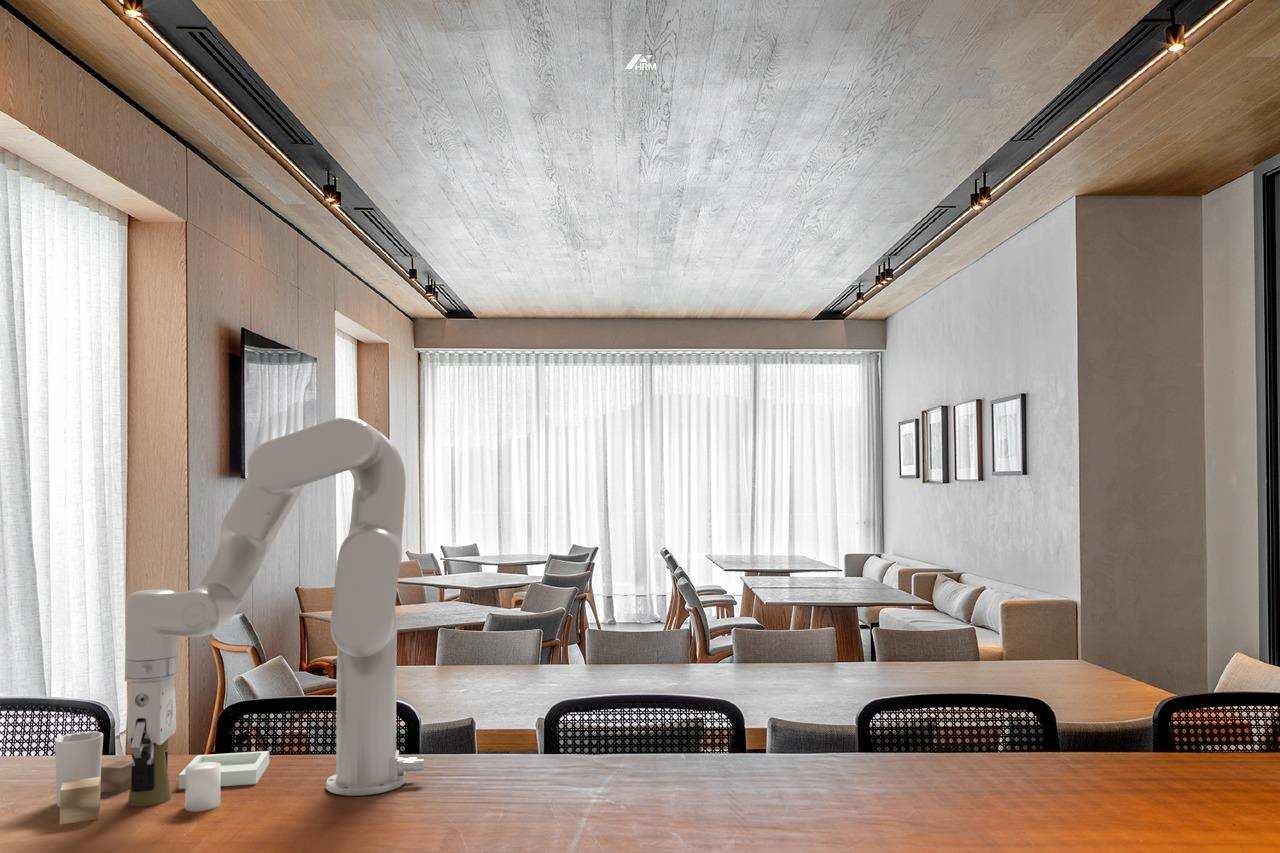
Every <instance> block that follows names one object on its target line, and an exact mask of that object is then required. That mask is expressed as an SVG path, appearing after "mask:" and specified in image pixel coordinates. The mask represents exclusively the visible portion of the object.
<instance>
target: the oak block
mask: <svg viewBox="0 0 1280 853" xmlns="http://www.w3.org/2000/svg"><path fill="white" fill-rule="evenodd" d="M101 793H102V792H101V777H95V778H87V779H79V780H71V781H63V784H62V787H61V790H60V807H59V825H67V824H73V823H74V824H75V823H81V822H87V821H88V822H89V821H94V820H99V818H100V814H101V813H100V812H101Z"/></svg>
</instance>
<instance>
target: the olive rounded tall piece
mask: <svg viewBox="0 0 1280 853" xmlns="http://www.w3.org/2000/svg"><path fill="white" fill-rule="evenodd" d="M169 738H170V737H169ZM169 738H168V739H167V740H166V741H165V742H164V743H162V744H161V745H157V744H156V743H155V746H154V754H153V762H152V763H155V787H154V789H153V790H152V791H140V792H132V791H131V787H130V789H129V794H128V800H127V803H128V805H129V806H131V807H150V806H156V805H160V804H164V803H166V802H168V801H170V800H171V798H172V796H171V788H170V781H169V774H168V773H169V772H168V771H167V764H166V756H165V748H166V746H167V745H168V746H169V744H168V743H169V741H170V739H169ZM150 741H151V740H145V741H143V744H145V743H150ZM143 750H146V752H147V755H148V749H143Z"/></svg>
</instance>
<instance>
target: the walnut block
mask: <svg viewBox="0 0 1280 853" xmlns="http://www.w3.org/2000/svg"><path fill="white" fill-rule="evenodd" d="M131 762H132V760H113V761H111V762H108V763H107V764H104V765H101V793H117V794H118V793H119V794H120V793H123V792H126V791H129V790H130V787H131V772H132V765H131Z"/></svg>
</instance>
